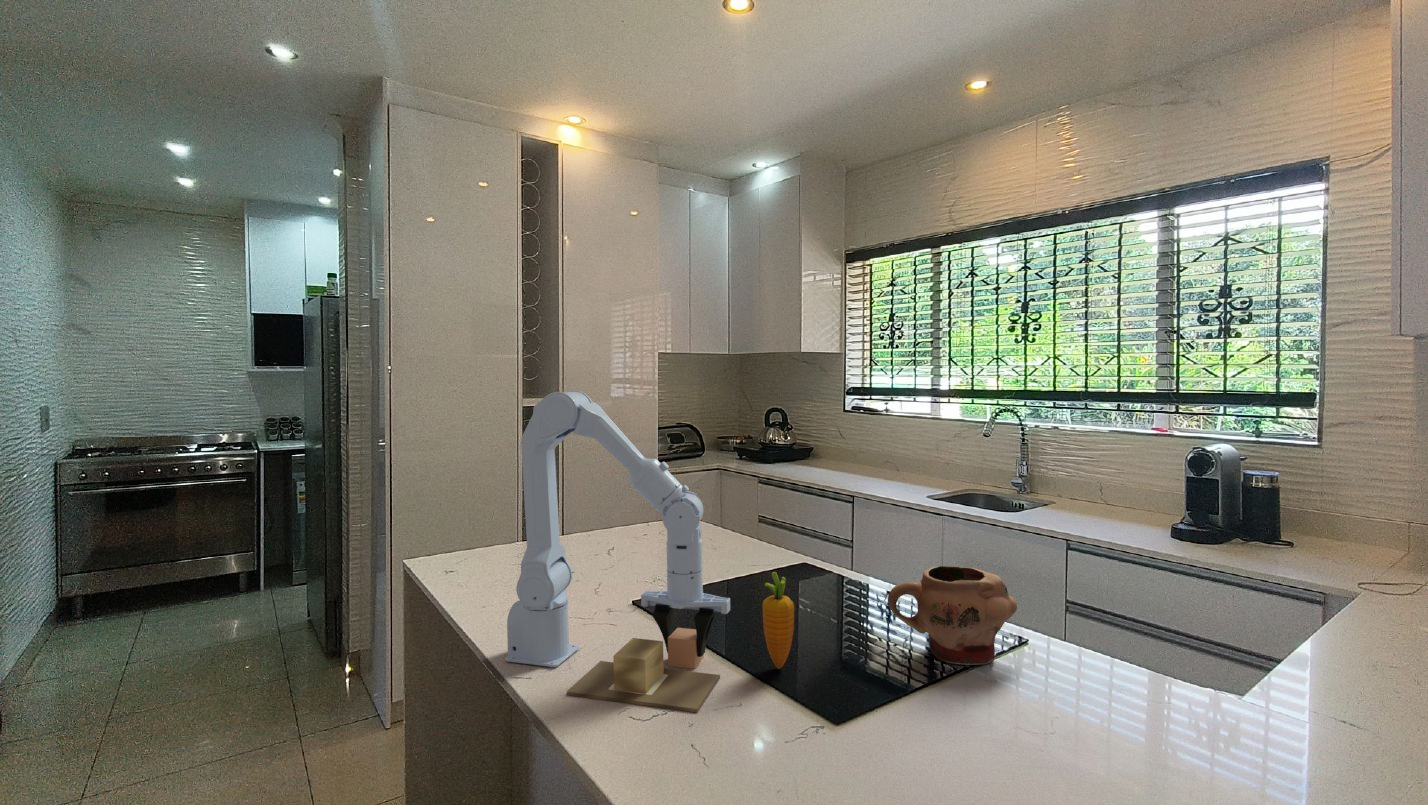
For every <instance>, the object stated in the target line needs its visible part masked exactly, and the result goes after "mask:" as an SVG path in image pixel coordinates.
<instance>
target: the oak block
mask: <svg viewBox="0 0 1428 805" xmlns="http://www.w3.org/2000/svg"><path fill="white" fill-rule="evenodd" d="M612 656H613V658H612V659H613V661H612V662H613V663H614V690H621V691H628V692H636V693H643V694H646V693H647V692H648V691H649V690H650V689H651V687H652V686H653V685H654V684H655V683H656V682H657V680H658V679H659V678H660V677H661V676H662V675H663V673H664V640H655V639H646V638H636V637H633V638H631V639H630V640H629V641H628V642H627V643H626V644H625V645H624V646H622V647H621V648H620V649H619V650H618V651H617V652H616V653H615V654H613V655H612Z"/></svg>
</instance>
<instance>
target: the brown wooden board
mask: <svg viewBox="0 0 1428 805" xmlns="http://www.w3.org/2000/svg"><path fill="white" fill-rule="evenodd" d="M720 679H721V674H714V673H708V672H707V673H706V672H698V671H690V670H682V669H681V670H680V669H674V668H664V673H663V675H662V676H661V677H660V678H659V679H658V680H657V682H656V683H655V684H654V685H653V686H652V687H651V689H650V690H649V691H648V692H647V693H646V694H643V693H636V692H628V691H621V690H614V663H613V661H605V660H604V661H603V660H600V661H599V662H598V663H596V664H595V665H594V666H593V667H592V668H591V669H589V670H588V672H586V673H585V674H584V675H583V676H582V677H581V678H580V679H579V680H578V681H575V683H574V684H573V685H572V686H571V687H569V689H567V691H566V695H567V696H572V697H580V698H585V699H586V698H588V699H593V700H594V699H596V700H601V701H609V702H616V703H624V704H632V705H639V706H644V707H645V706H647V707H652V708H653V707H655V708H662V709H668V710H674V711H675V710H677V711H683V712H684V711H685V712H690V713H691V712H692V713H696V714H697V713H698V712H699V711H700V710H701V708H702V706H703V705H704V703H705V702H706V700H707V699H708V697H709V695H710V694H711V693H712V691H713V690H714V688H715V687H716V685H717V683H718V682H719V681H720Z"/></svg>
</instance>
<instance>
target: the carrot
mask: <svg viewBox="0 0 1428 805" xmlns="http://www.w3.org/2000/svg"><path fill="white" fill-rule="evenodd" d="M771 577H772V580H773V581H774V584H775V585H774V584H771V582H770V583H769V582H765V583H764V586H765V587H766V588H767V589H769V590H770V591H771V592H772V594H773V595H770V596H768V597H766V598H765V599H764V600H762V623H763V624H762V625H763V633H764V639H765V643H766V648H767V651H768V654H769V656H770V659H771V660H772V661H771V662H773V664H774V667H775V668H776V669H777V670H780V669H782V667H784V664H785V663H786V661H787V660H788V657H789V653H790V651H791V646H792V642H793V637H794V631H795V630H794V628H795V604H794V601H793V600H791V598H790V597H789V596H787V595H784V592H785V588H786V581H787V580H786V578H785V577H784V576H782V577H781V581H780V579H779V576H778V574H777V572H776V571H773V572H772V573H771Z"/></svg>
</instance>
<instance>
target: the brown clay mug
mask: <svg viewBox="0 0 1428 805" xmlns="http://www.w3.org/2000/svg"><path fill="white" fill-rule="evenodd" d="M905 595H909V596H911V597H913V598H914V599H915V600H916V603H917V612H916V614H915V615H912V616H911V617H910V616H909V617H907V616H905V615H903V614H902V613H901V612H900V611H899V608H897V603H898V601H899V599H900V598H901V597H902V596H905ZM887 603H888V606H889V609H890V610H891V613H893V615H895V616H896V617H897V618H898V619H899V620H901V622H903V623H905V625H906V626H908V627H910V628H912V629H913V630H915V631H916V632H918V633H919V634H923V635H924V634H926V633H928V639H929V640H928V642H929V649H930V652H931V653H932V654H933V655H934V657H936V658H937V659H938V660H941V661H943V662H946V663H948V664H949V663H950V664H955V665H965V666H967V665H968V666H970V665H971V666H972V665H973V666H974V665H975V666H976V665H977V666H978V665H986V664H990V663H991V662H992V661H993V660H995V657H996V655H995V654H996V653H995V652H996V650H995V638H996V636H997V634H998V632H999V631H1000V630H1001V629H1002V628H1003V626H1004V624H1005V623H1006V622H1007V621H1008V620H1009V619H1011V617H1013V615H1015V614H1016V612H1017V609H1018V605H1017V601H1016V600H1015V599H1014V597H1013V596H1011V595H1010V594H1009V592H1008V588H1007V585H1006V584H1005V582H1004V581H1003V579H1002V578H1001V577H1000V576H999V575H997V574H994V573H991V572H987V571H984V570H982V569H979V568H975V567H967V566H966V567H962V566H950V565H947V566H946V565H941V566H940V565H938V566H932V567H928V568H927V569H925V570H924V572H923V573H922V579H921V580H919V581H916V582H915V581H914V582H911V581H909V582H902V583H899V584H896V585H894V587H893V588H892V589H890V591H889V593H888V597H887Z"/></svg>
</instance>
